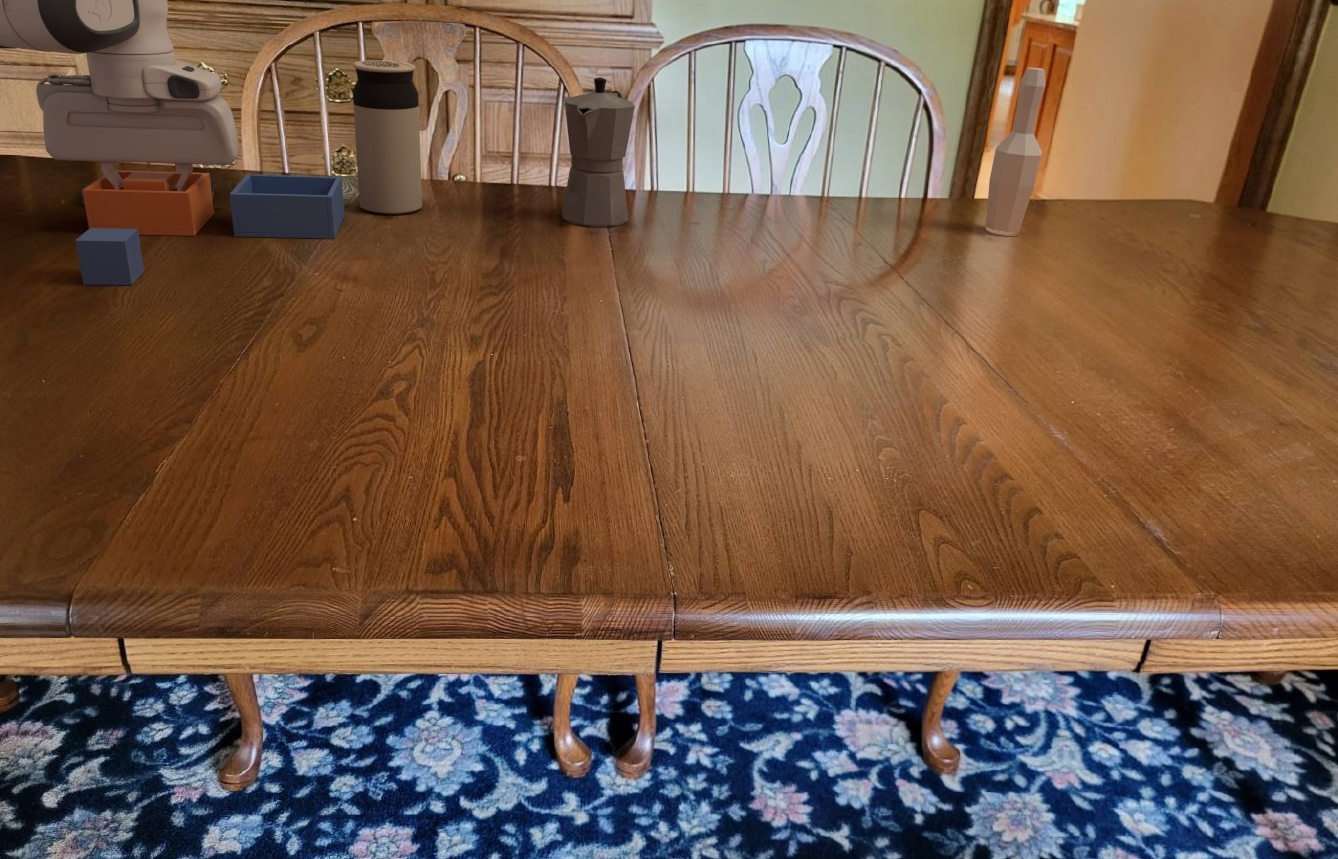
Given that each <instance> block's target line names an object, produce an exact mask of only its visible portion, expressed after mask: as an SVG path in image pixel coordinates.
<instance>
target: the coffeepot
mask: <svg viewBox="0 0 1338 859" xmlns="http://www.w3.org/2000/svg"><path fill="white" fill-rule="evenodd" d="M593 82H594V89H595V90H594V92H588V93H584V94H579V95H575V96H569V97H565V98H563V99H564V100H563V101H564V109H565V118H566V119H565V120H566V129H567V138H568V148H569V154H570V155H571V163H570V166H571V167H570V168H569V172H568V177H567V182H566V188H565V194H564V199H563V205H562V210H561V214H562V219H563V220H564V221H565V222H567V223H570V224H572V225H576V226H582V227H589V228H590V227H591V228H613V227H618V226H622V225H624V224H626V223H628V222H629V211H628V203H627V194H626V186H625V185H626V184H625V176H624V170H623V158H625V157H626V155H627V149H628V145H629V138H630V134H631V128H632V123H633V118H634V113H635V108H636V105H635V104H634V103H633V101H631V100H628V99H626V98H625V99H624V98H623V97H622V93H621V92H620V91H618V90H613V91H611V92H605V89H606V85H607V79H606V78H604V77H596V78H593Z"/></svg>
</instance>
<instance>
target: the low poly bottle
mask: <svg viewBox="0 0 1338 859" xmlns="http://www.w3.org/2000/svg"><path fill="white" fill-rule="evenodd" d="M1045 88H1046V71H1045V68H1040V67H1029V66H1028V67H1027V68H1026V70H1025V72H1024V74H1023V76H1022V78H1021V79H1020V81H1019V86H1018V95H1017V104H1016V110H1015V115H1014V121H1013V125H1012V130H1011V132H1009V133H1008V135H1006V136H1005V137H1004V139H1002V141H1001V142H1000V143H999V144H998V145H997V146H996V147H995V150H994V151H995V152H994V156H993V161H992V166H991V170H990V176H989V182H988V194H987V195H988V196H987V206H986V220H985V228H986V227H988V228H990V229H992V230H998V231H1005V232H1019V233H1020V230H1021V227H1022V224H1023V220H1024V218H1025V215H1026V212H1027V210H1028V206H1029V203H1030V201H1031V197H1032V194H1033V191H1034V188H1035V185H1036V183H1037V177H1038V173H1039V169H1040V164H1041V158H1042V154H1043V151H1042V150H1041V147H1040V145H1039V142H1038V140H1037V138H1036V136H1035V133H1034V132H1035V127H1036V122H1037V118H1038V114H1039V108H1040V106H1041V101H1042V100H1043V99H1042V98H1043V95H1044V92H1045ZM985 232H987V233H989V234H991V235H995V236H1002V237H1019V234H1018V235H1002V234H995V233H992V232H990V231H988V230H986V229H985Z"/></svg>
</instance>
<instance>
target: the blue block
mask: <svg viewBox="0 0 1338 859" xmlns="http://www.w3.org/2000/svg"><path fill="white" fill-rule="evenodd" d="M75 246H76V253H77V257H78V264H79V269H80V274H81V281H82V284H83V286H86V285H87V286H90V285H91V286H93V285H94V286H133V285H134V284H135V282H136V281H137V280H139V278H140V277H141V276H142V275H143V274H144V273H145V266H144V260H143V259H144V258H143V254H142V246H141V241H140V235H139V233H138V229H109V228H90V229H89V228H88V229H87V230H86V231H85V232H83V233H82V234H81V235H80V236H79V237H77V238H76V239H75Z"/></svg>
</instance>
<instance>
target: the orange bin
mask: <svg viewBox="0 0 1338 859" xmlns="http://www.w3.org/2000/svg"><path fill="white" fill-rule="evenodd" d="M115 170H116V171H117V172H118V174H119V175H120V177H121V178H122V179H123V180H124V179H125V178H126V177H128V176H129V175H130V174H132V173H133V172H155V171H152V170H151V171H150V170H118V169H115ZM159 172H160V173H174V176H175V183H176V184H177V183H178V180H179V178H180V176H181V174H182V172H181V173H177V172H176V171H159ZM210 181H211V174H210V173H209V172H192V173H191V175H190V177H189V179H188V181H187V183H186V185H185V188H186V191H185V192H183V191H146V190H115V188H114V186H113V185H112V184H111V183H110V182H109V180H108V179H107V178H106V177H105V175H104V174H103V175H101V176H100V177H99V178H97V179H96V180H95V181H93V182H91V183H92V184H90V185H89V186H88V187H86V188H85V189H84V188H83V189H82V191H83V197H84V202H85V205H84V209H85V212H86V213H85V214H86V220H87V224H88V230H89V229H90V228H109V229H138V233H139V236H178V237H181V236H182V237H195V236H196V235H197V234H198V233H199V232H200V231H201V229H202V228H204V226H205V225H206V224H207V223H208V221H209V220H210V219H211V218H212V217H213V215H215V210H214V209H215V208H214V202H213V199H212V191H211V183H210Z"/></svg>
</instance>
